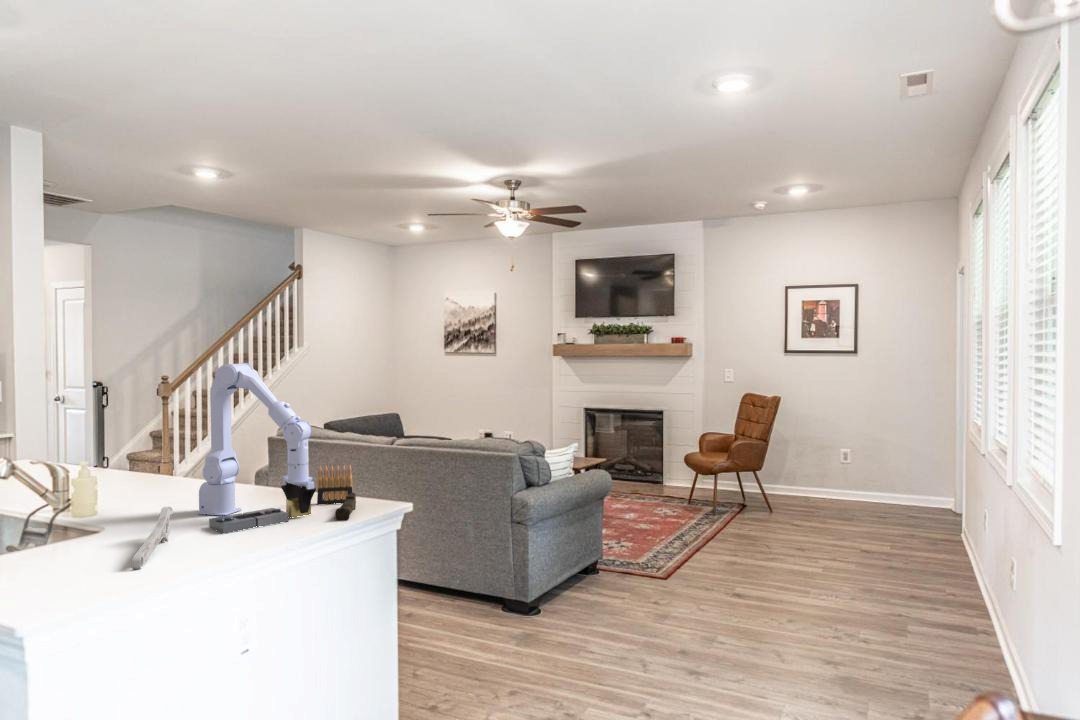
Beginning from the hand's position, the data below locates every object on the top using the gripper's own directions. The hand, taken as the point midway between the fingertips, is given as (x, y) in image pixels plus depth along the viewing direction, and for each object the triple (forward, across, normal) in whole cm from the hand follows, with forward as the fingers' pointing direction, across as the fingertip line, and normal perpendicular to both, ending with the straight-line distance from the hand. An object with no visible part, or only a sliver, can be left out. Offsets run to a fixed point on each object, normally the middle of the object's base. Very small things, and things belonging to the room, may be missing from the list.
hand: (298, 510), depth 216 cm
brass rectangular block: (+2, 0, 0) cm, 2 cm away
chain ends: (+1, 0, +14) cm, 15 cm away
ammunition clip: (+2, +7, -16) cm, 18 cm away
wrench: (+2, -9, +42) cm, 43 cm away
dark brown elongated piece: (+2, -7, -11) cm, 13 cm away
